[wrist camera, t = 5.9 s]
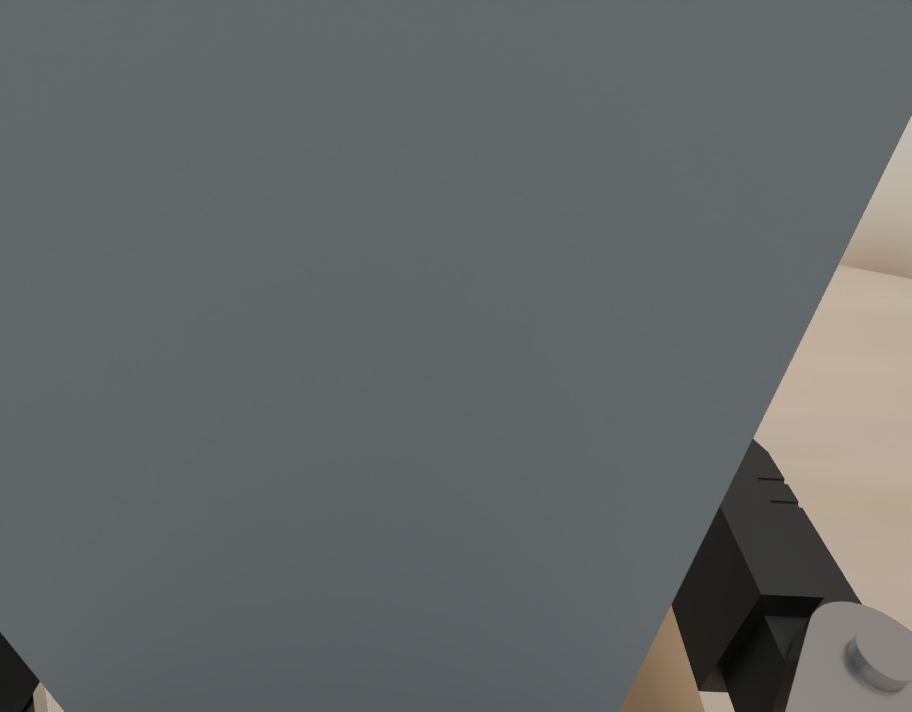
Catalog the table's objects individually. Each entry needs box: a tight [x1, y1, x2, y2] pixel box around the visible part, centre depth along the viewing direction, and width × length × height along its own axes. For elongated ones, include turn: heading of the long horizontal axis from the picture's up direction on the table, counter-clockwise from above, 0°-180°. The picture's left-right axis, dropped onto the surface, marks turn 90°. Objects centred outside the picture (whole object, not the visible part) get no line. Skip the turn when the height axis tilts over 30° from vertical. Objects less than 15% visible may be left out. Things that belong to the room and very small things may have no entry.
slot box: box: [619, 606, 705, 712], centre depth 15 cm, size 18×9×5 cm, turn 179°
